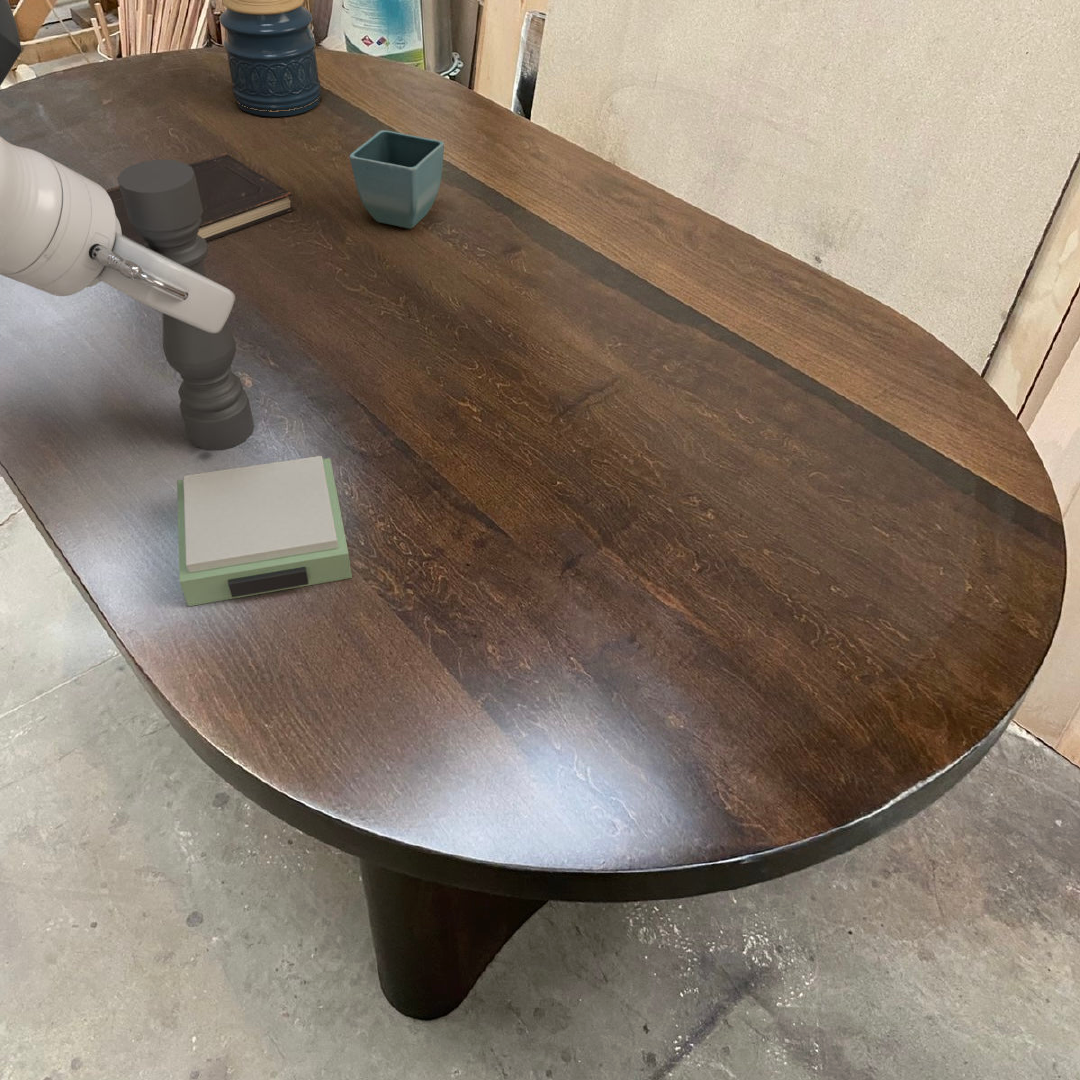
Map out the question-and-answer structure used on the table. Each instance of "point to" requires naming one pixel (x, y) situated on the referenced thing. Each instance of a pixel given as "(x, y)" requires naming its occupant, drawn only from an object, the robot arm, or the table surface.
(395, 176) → the flower pot
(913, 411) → the table surface
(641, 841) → the table surface
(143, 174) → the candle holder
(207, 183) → the hardcover book
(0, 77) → the robot arm
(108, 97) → the table surface
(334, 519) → the scale
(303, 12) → the canister
